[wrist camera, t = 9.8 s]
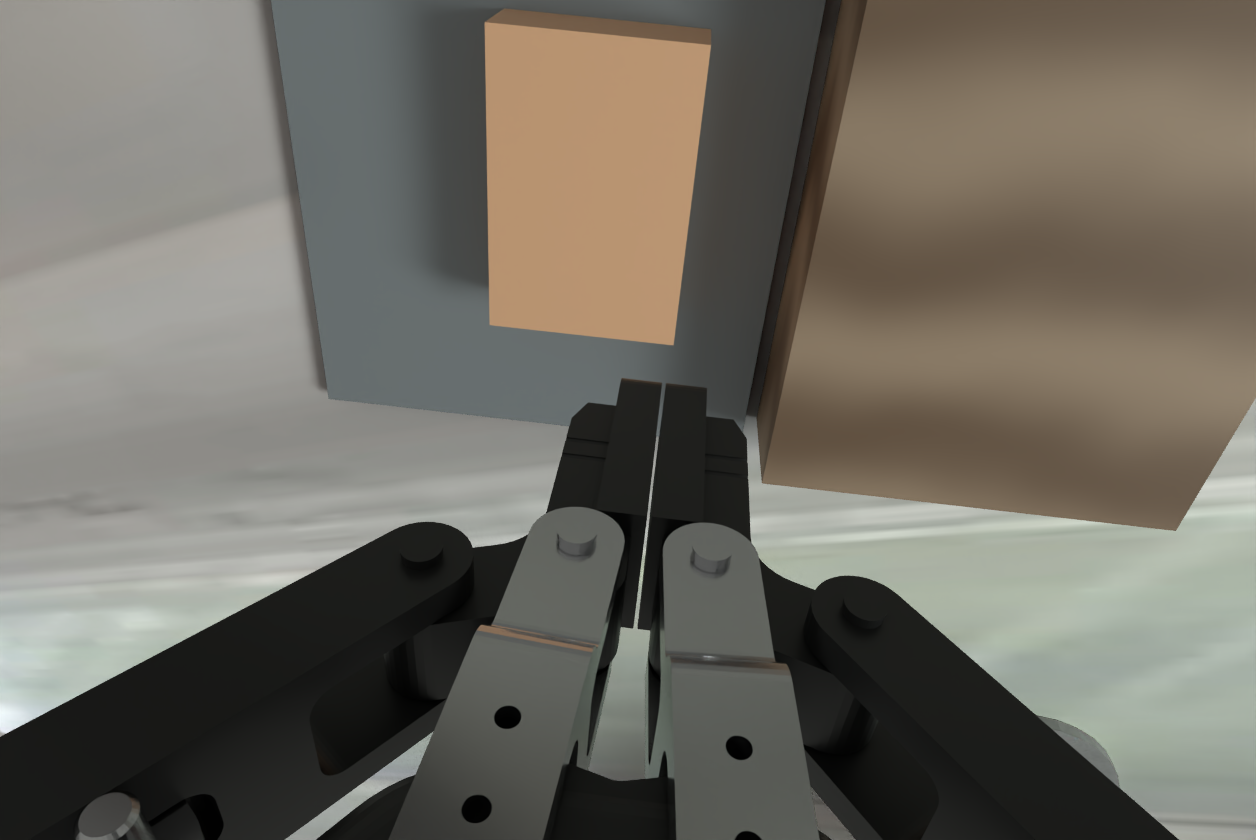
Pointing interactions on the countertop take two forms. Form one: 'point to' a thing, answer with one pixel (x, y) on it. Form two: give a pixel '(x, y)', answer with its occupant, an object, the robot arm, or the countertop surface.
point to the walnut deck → (1023, 258)
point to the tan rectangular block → (590, 171)
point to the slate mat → (458, 205)
